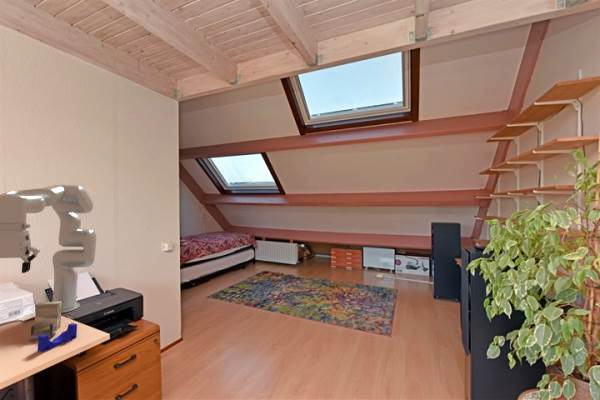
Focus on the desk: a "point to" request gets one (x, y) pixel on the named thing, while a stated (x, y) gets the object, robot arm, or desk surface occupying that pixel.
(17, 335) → the desk surface
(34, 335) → the offcut rack
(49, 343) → the blue cradle stand
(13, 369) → the desk surface
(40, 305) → the tan wooden block
